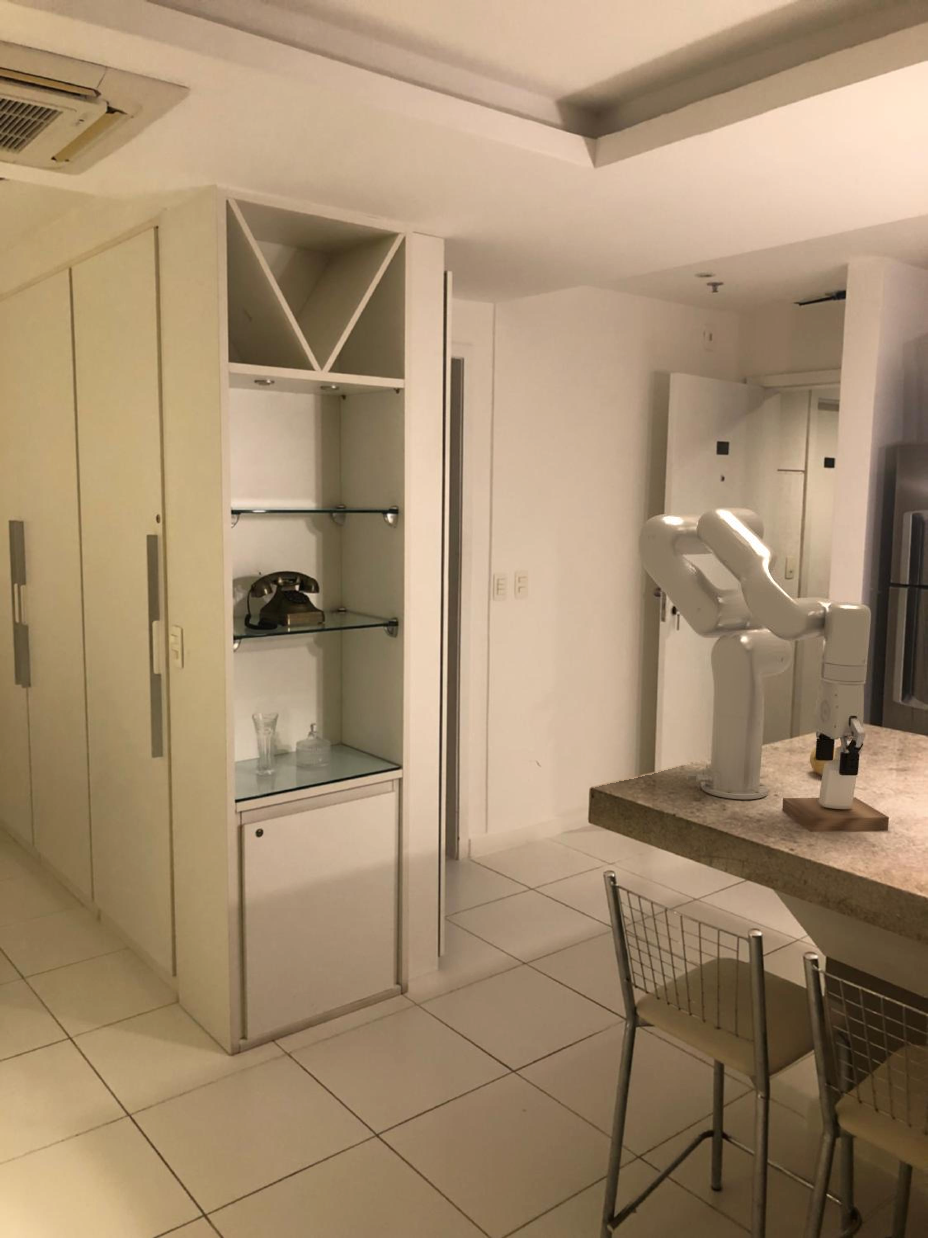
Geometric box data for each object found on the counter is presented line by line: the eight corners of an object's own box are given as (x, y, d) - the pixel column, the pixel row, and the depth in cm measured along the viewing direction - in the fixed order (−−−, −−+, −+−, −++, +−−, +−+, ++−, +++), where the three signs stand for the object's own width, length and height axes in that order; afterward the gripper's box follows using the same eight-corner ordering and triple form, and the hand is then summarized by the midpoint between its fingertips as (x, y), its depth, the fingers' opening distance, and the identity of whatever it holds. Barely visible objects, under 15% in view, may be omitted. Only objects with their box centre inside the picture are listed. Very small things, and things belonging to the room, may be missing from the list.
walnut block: (810, 835, 177) (811, 818, 176) (782, 814, 189) (783, 798, 188) (887, 834, 178) (888, 817, 178) (854, 813, 190) (855, 797, 190)
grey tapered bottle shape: (850, 813, 180) (860, 746, 178) (817, 806, 182) (827, 740, 180) (852, 807, 184) (861, 742, 182) (819, 800, 186) (828, 736, 184)
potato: (806, 779, 210) (808, 749, 210) (811, 767, 220) (813, 738, 220) (841, 784, 208) (843, 753, 207) (844, 771, 218) (846, 742, 217)
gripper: (802, 664, 189) (795, 754, 191) (844, 681, 171) (837, 781, 174) (841, 664, 189) (834, 755, 191) (887, 682, 172) (879, 781, 174)
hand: (835, 767), depth 182 cm, fingers open, 9 cm apart
